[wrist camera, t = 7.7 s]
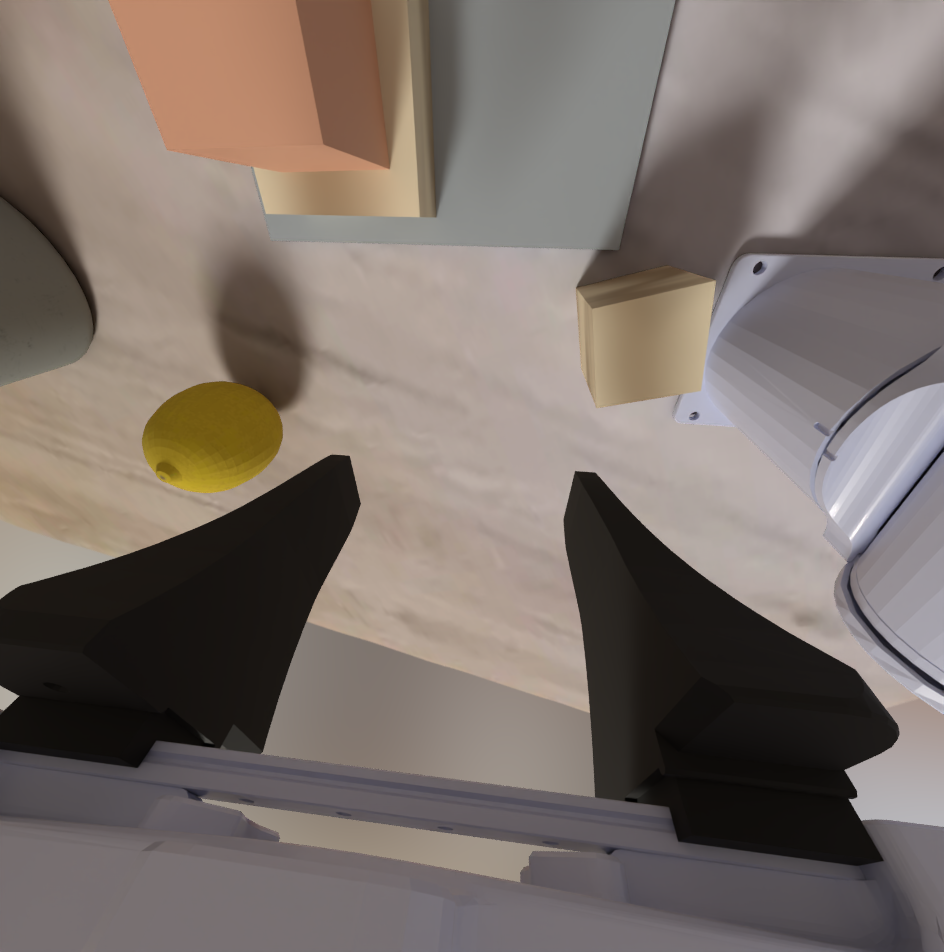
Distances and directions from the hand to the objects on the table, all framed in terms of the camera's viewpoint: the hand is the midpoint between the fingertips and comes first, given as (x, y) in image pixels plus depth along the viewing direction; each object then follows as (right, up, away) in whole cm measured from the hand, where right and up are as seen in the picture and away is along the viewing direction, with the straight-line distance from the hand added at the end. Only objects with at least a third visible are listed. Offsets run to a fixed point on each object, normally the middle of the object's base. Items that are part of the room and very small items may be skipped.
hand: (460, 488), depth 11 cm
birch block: (+8, +8, +6) cm, 13 cm away
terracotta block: (-4, +13, 0) cm, 13 cm away
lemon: (-13, +5, +11) cm, 18 cm away
